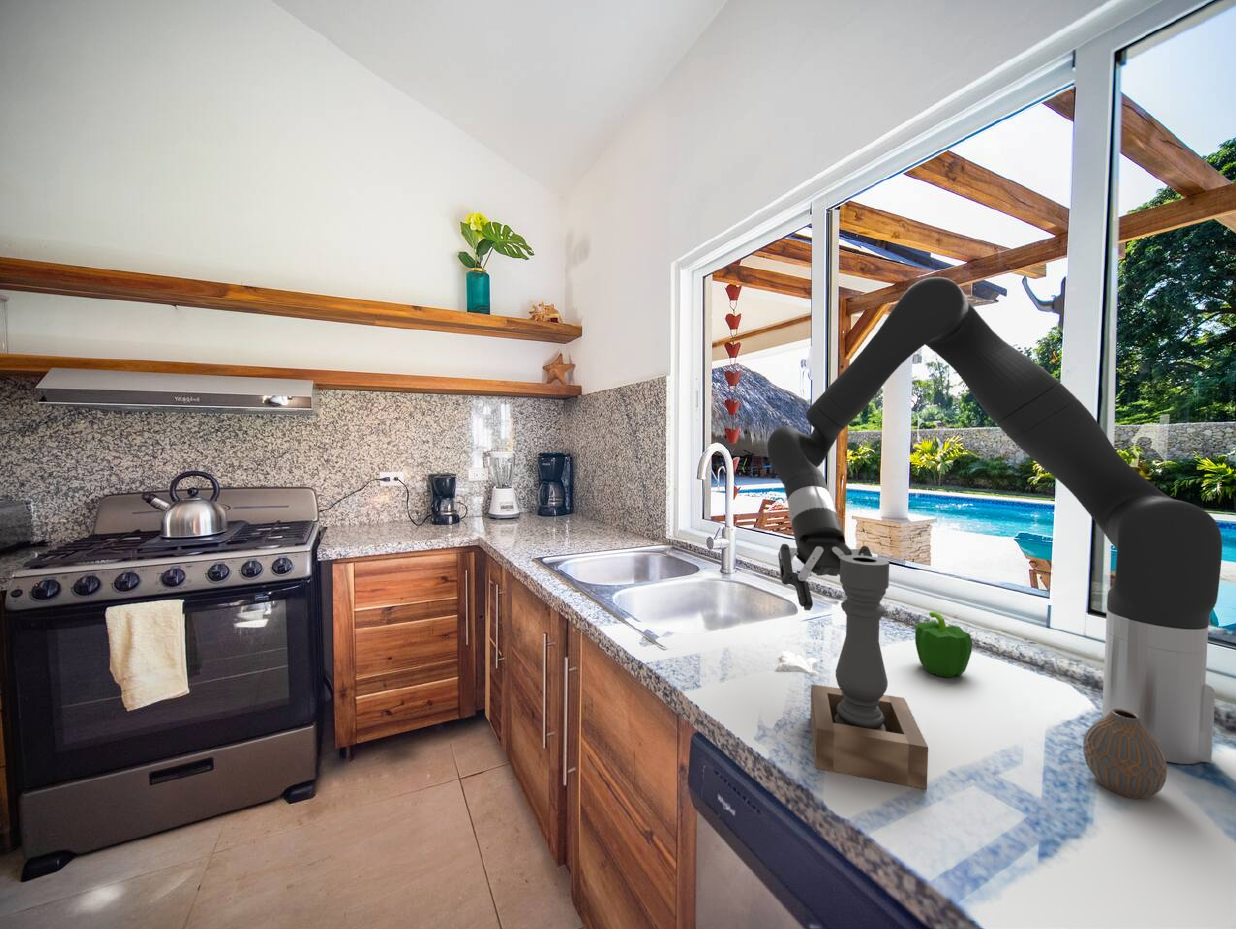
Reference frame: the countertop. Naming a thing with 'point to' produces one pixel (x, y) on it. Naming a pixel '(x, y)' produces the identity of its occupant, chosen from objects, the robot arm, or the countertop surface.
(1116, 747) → the vase
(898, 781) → the socket block
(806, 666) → the acanthus leaf ornament
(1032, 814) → the countertop surface
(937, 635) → the bell pepper
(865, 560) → the candle holder
